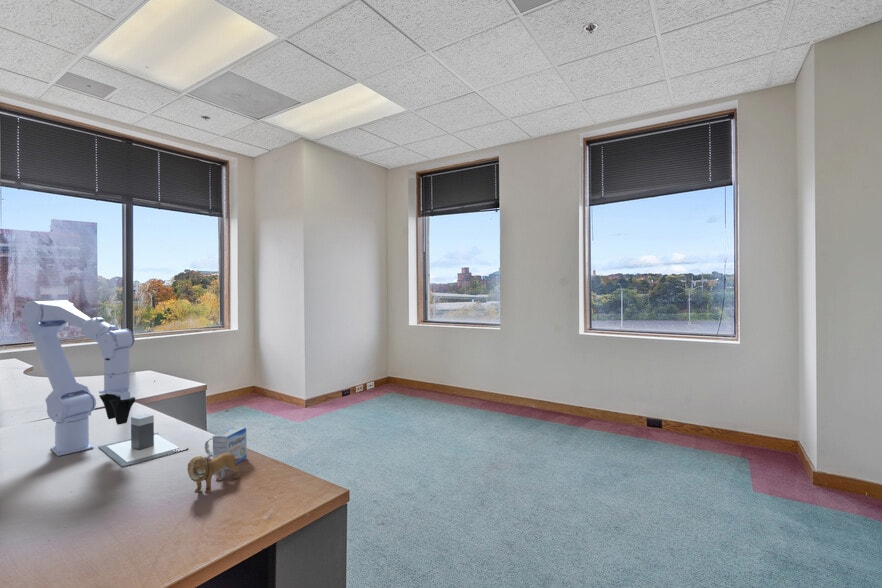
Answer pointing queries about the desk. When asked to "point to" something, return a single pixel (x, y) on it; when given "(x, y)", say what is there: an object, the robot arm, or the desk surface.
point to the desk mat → (138, 451)
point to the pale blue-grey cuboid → (142, 431)
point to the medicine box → (231, 443)
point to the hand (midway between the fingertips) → (117, 420)
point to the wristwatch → (207, 448)
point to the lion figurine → (210, 469)
